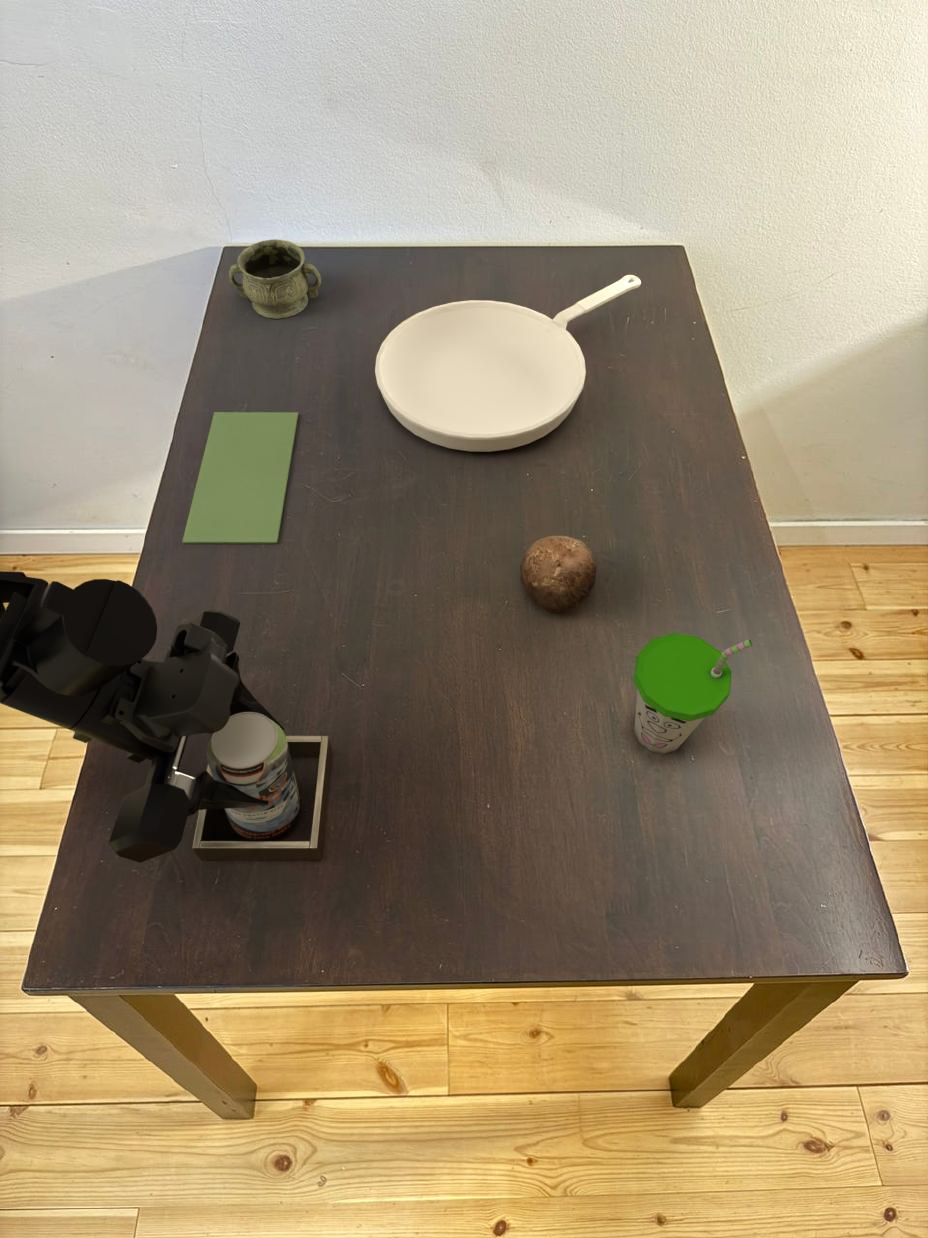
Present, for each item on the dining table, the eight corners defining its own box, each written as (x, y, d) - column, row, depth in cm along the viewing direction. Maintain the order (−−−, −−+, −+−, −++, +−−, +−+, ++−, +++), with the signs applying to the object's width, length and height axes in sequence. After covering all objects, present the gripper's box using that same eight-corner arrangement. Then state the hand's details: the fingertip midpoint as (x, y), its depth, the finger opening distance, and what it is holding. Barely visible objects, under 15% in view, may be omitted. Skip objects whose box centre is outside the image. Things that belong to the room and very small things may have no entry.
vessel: (327, 282, 116) (321, 238, 111) (320, 322, 111) (314, 279, 106) (240, 281, 116) (230, 238, 111) (229, 321, 111) (218, 278, 106)
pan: (337, 377, 105) (332, 347, 101) (568, 263, 118) (571, 233, 115) (463, 494, 94) (464, 465, 90) (702, 353, 107) (710, 324, 104)
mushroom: (602, 533, 86) (581, 518, 81) (614, 609, 84) (593, 600, 79) (531, 551, 90) (506, 538, 84) (540, 624, 88) (515, 616, 82)
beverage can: (224, 843, 71) (184, 792, 61) (243, 762, 75) (208, 700, 65) (298, 849, 71) (270, 798, 61) (313, 767, 75) (289, 706, 65)
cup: (601, 744, 76) (628, 656, 64) (637, 680, 80) (669, 584, 68) (682, 786, 74) (726, 703, 62) (715, 718, 78) (763, 626, 65)
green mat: (182, 543, 90) (182, 541, 89) (214, 413, 101) (214, 411, 101) (277, 543, 90) (276, 541, 89) (298, 414, 101) (298, 412, 101)
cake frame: (201, 860, 70) (191, 848, 68) (221, 750, 76) (213, 735, 73) (321, 860, 70) (316, 848, 68) (332, 750, 76) (328, 735, 73)
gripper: (93, 790, 49) (312, 865, 57) (179, 539, 59) (354, 635, 68) (20, 829, 56) (226, 891, 64) (109, 598, 66) (275, 678, 75)
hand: (273, 767), depth 68 cm, fingers closed on beverage can, 6 cm apart
